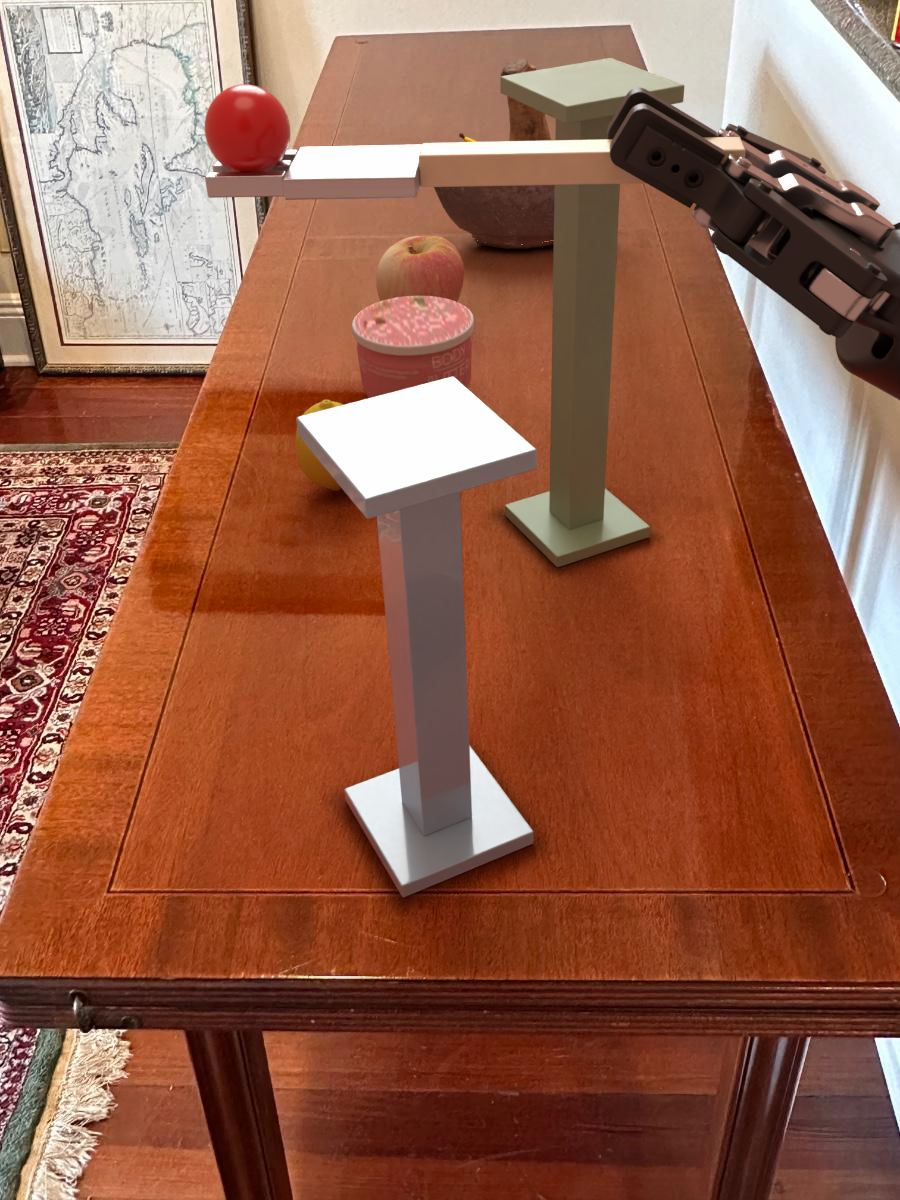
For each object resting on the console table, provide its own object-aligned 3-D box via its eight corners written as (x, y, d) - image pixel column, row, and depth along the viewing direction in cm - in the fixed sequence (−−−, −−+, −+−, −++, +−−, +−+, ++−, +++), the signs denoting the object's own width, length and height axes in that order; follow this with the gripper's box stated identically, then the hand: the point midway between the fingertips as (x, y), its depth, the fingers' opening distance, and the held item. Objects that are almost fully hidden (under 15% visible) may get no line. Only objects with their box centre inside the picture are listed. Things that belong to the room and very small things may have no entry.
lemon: (291, 504, 95) (279, 415, 90) (314, 468, 99) (303, 381, 94) (358, 511, 93) (349, 421, 88) (378, 475, 98) (371, 387, 93)
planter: (425, 247, 137) (416, 61, 125) (528, 209, 146) (528, 32, 134) (516, 281, 128) (516, 85, 116) (620, 239, 137) (629, 52, 125)
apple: (468, 302, 125) (466, 226, 120) (460, 338, 118) (458, 260, 113) (386, 301, 125) (380, 226, 121) (373, 338, 118) (367, 260, 114)
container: (466, 371, 112) (464, 290, 107) (484, 424, 104) (482, 339, 99) (355, 382, 111) (347, 300, 106) (364, 437, 103) (356, 351, 98)
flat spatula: (733, 158, 46) (743, 59, 44) (746, 193, 43) (758, 88, 41) (225, 168, 48) (211, 73, 46) (202, 201, 45) (186, 101, 43)
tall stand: (649, 537, 89) (685, 84, 70) (557, 568, 86) (567, 106, 67) (592, 487, 95) (611, 57, 75) (504, 515, 92) (499, 76, 73)
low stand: (534, 843, 66) (537, 449, 51) (402, 898, 63) (365, 499, 48) (468, 753, 72) (453, 375, 57) (345, 800, 69) (295, 416, 54)
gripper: (1002, 197, 51) (663, -16, 47) (1123, 333, 40) (696, 72, 36) (885, 338, 56) (564, 153, 51) (966, 496, 45) (568, 278, 41)
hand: (621, 121), depth 44 cm, fingers closed on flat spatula
